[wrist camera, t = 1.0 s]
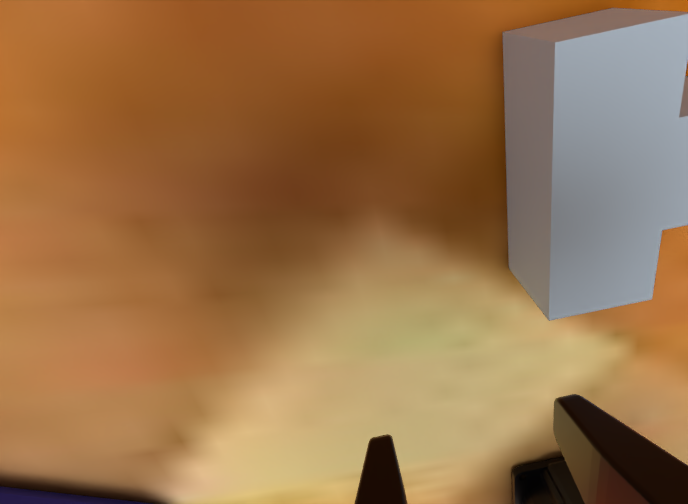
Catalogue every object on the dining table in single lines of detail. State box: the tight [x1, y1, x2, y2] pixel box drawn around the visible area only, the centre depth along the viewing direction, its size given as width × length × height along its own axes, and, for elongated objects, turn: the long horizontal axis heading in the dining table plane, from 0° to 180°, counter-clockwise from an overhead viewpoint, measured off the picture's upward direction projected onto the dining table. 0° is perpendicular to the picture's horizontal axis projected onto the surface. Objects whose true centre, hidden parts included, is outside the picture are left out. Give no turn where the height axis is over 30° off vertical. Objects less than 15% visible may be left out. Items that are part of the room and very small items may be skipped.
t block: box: [503, 8, 688, 321], centre depth 18 cm, size 10×10×4 cm
